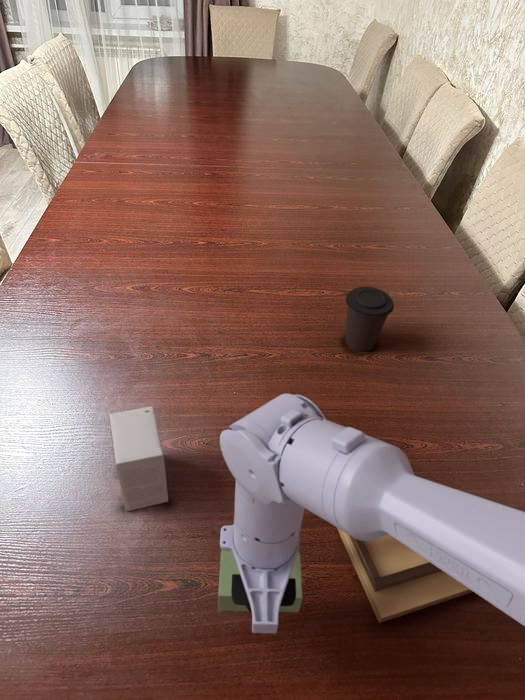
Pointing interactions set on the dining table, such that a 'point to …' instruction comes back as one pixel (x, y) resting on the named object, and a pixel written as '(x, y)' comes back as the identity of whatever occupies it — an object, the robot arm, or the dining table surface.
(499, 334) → the dining table surface
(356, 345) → the coffee cup
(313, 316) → the dining table surface
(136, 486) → the small box
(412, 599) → the wooden base with frame
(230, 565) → the green rectangular block
